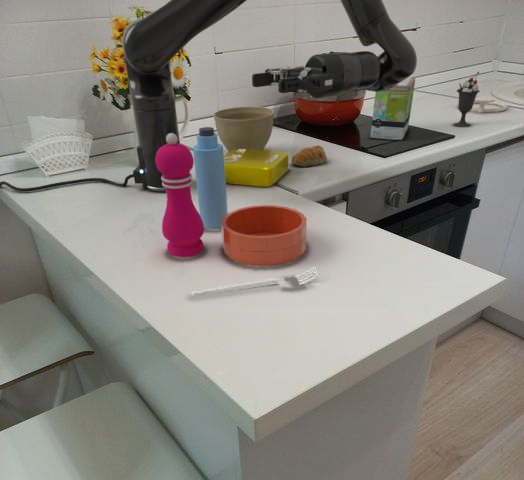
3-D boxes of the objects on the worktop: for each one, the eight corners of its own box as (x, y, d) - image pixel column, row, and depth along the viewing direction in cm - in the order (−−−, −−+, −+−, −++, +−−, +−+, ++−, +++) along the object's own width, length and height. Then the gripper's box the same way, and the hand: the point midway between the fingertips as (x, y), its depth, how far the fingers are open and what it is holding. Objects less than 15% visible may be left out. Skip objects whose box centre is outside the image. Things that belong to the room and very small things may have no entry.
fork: (190, 292, 77) (189, 281, 76) (314, 275, 81) (314, 265, 80) (193, 303, 75) (191, 292, 74) (320, 285, 78) (320, 274, 77)
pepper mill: (171, 264, 85) (153, 141, 74) (161, 248, 91) (142, 131, 79) (211, 256, 88) (200, 135, 76) (199, 240, 93) (186, 125, 81)
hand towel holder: (510, 91, 182) (509, 102, 166) (507, 105, 184) (506, 116, 169) (461, 89, 187) (456, 99, 172) (459, 102, 190) (453, 113, 174)
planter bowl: (225, 146, 147) (222, 106, 141) (279, 147, 144) (278, 106, 138) (209, 162, 135) (205, 118, 128) (268, 164, 132) (267, 119, 125)
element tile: (270, 188, 116) (270, 167, 113) (212, 182, 120) (210, 162, 118) (290, 169, 127) (290, 149, 124) (236, 164, 132) (235, 145, 129)
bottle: (198, 231, 97) (188, 132, 86) (204, 220, 101) (194, 125, 90) (226, 231, 96) (218, 132, 86) (230, 220, 100) (223, 125, 90)
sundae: (477, 125, 160) (488, 72, 151) (463, 128, 157) (474, 74, 148) (460, 121, 164) (470, 70, 155) (446, 124, 161) (455, 72, 152)
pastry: (302, 169, 127) (302, 154, 124) (285, 164, 131) (284, 149, 129) (328, 162, 131) (329, 147, 129) (311, 157, 136) (311, 142, 133)
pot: (217, 267, 84) (214, 237, 81) (230, 232, 96) (228, 204, 92) (304, 269, 83) (305, 238, 79) (306, 233, 94) (307, 205, 91)
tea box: (403, 140, 147) (411, 84, 138) (369, 138, 150) (374, 83, 141) (408, 129, 158) (416, 76, 150) (376, 127, 161) (382, 75, 152)
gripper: (311, 50, 101) (244, 56, 94) (360, 55, 92) (289, 63, 84) (309, 91, 106) (245, 100, 98) (356, 100, 96) (289, 111, 89)
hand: (266, 83), depth 91 cm, fingers open, 8 cm apart
